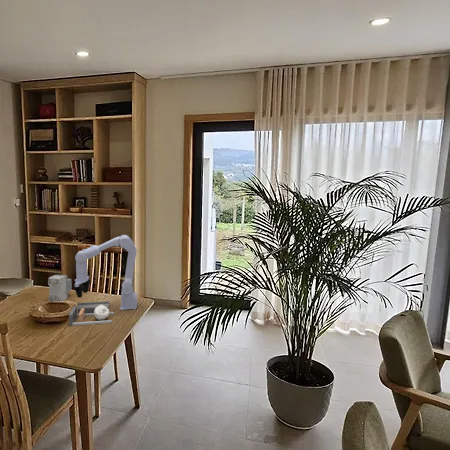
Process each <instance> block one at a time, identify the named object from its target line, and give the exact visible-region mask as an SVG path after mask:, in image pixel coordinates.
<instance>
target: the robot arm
mask: <svg viewBox="0 0 450 450" xmlns="http://www.w3.org/2000/svg"><path fill="white" fill-rule="evenodd" d="M119 246H120V247H121V248H122V249H125V251H127V252H128V253H127V259H126V265H125V267H126V268H125V274H124V279H123V282H122V283H121V287H122V288H121V292H120V299H121V300H120V309H119V310H120V311H121V310H122V311H123V310H124V311H125V310H136V308H137V309H138V307H137V306H138V292H134V287H133V280H134V279H133V277H134V273H135V271H134V270H135V264H136V256H137V247H136V246H135V244H134V241H133V240H132V237H130V236H128V234H122V235H120V236H117V237H114V238H112V239H110V240H108V241H105V242H104V243H102V244H99V245H90V247H88V248H85V249H84V248H83V249H82V250H79V251H78V252H77V253H76V255H75V257H74V259H75V261H76V262H75V273H76V274H75V275H76V279H74V282H75V283H74V285H73V286H72V288H73V290H74V291H75V293H76V296H77V298H79V299H80V298H82V297H83V294H87V293H88V291H89V287H90V284H91V279H90V276H89V275H88V264H87V260H89V259H91V258H94V257H96V256H98V255H100V253H101V252H102V251H103V250H106V249H108V248H111V247H119Z"/></svg>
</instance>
